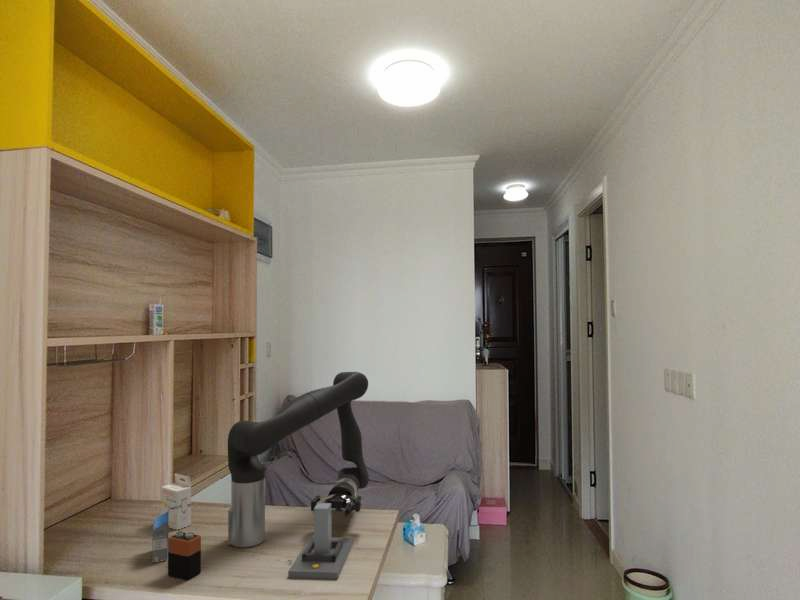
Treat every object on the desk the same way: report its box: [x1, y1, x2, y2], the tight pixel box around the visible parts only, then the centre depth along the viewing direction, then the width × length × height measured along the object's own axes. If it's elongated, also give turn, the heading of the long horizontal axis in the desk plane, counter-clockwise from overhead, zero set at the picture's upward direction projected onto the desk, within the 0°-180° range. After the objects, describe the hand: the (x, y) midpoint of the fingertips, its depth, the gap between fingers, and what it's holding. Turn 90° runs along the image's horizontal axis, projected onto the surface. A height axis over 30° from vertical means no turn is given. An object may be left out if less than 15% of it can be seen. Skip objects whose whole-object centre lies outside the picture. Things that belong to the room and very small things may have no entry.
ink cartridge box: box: [160, 473, 192, 531], centre depth 155 cm, size 9×5×15 cm, turn 58°
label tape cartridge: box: [151, 502, 170, 563], centre depth 134 cm, size 9×4×12 cm, turn 23°
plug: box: [313, 503, 333, 554], centre depth 130 cm, size 4×4×12 cm
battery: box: [167, 530, 202, 581], centre depth 123 cm, size 4×7×10 cm, turn 66°
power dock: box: [287, 536, 354, 580], centre depth 130 cm, size 12×20×3 cm, turn 175°
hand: (331, 512), depth 139 cm, fingers open, 8 cm apart
